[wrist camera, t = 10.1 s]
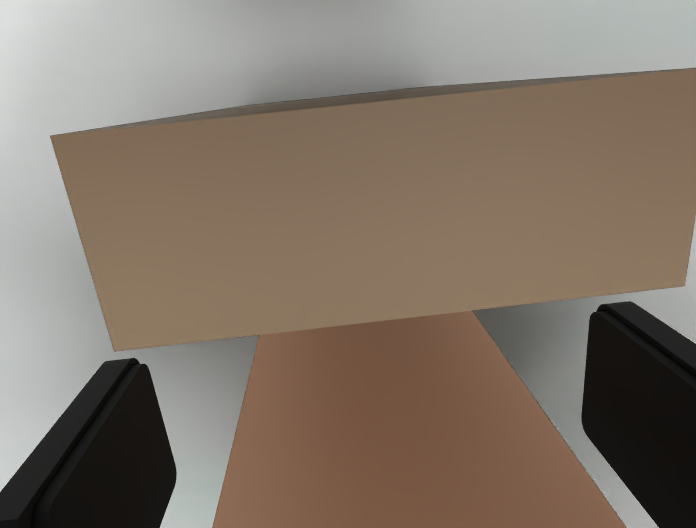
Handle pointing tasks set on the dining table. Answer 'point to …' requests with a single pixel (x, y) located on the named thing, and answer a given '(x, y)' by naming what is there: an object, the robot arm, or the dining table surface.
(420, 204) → the domino
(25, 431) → the dining table surface
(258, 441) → the domino
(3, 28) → the dining table surface
